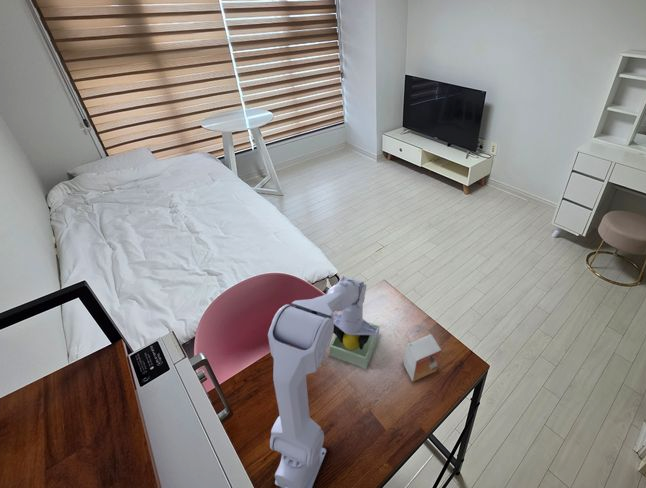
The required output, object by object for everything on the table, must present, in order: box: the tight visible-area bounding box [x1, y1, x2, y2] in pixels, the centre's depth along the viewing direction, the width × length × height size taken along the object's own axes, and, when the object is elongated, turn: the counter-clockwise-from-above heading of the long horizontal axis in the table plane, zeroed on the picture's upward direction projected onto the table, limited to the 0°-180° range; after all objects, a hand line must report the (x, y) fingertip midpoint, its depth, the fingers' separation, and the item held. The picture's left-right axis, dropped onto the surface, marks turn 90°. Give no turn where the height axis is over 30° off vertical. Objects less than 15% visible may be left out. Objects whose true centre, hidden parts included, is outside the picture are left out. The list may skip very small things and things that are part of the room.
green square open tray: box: [329, 322, 380, 370], centre depth 98 cm, size 11×11×5 cm
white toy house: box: [403, 333, 442, 383], centre depth 91 cm, size 8×6×10 cm
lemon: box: [343, 333, 360, 350], centre depth 94 cm, size 6×6×8 cm
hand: (352, 343), depth 95 cm, fingers closed on lemon, 5 cm apart
